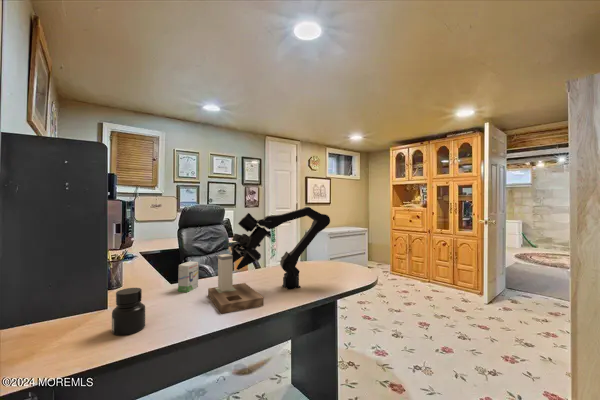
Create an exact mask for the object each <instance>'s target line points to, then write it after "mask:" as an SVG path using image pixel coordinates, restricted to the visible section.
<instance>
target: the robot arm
mask: <svg viewBox="0 0 600 400" xmlns="http://www.w3.org/2000/svg"><path fill="white" fill-rule="evenodd" d="M303 217H308V218H310V220H313V221H312V222H311V226H310V228H309V229H308V230H307V231H306V233H305V234H304V235H303V236H302V238H300V240H299V241H298V243H297V244H296V245H295V246H294V248H293V249H292V250H291V251H290V252H289V251H285V253H284V254H283V255H282V256H281V257H280V259H281V260H280V262H279V265H280V267H281V269H282V270H283V271H284V272H285V273H283V277H282V285H281V286H282V287H283V288H285V289H286V290H293V289H294V290H295V289H300V288H301V285H300V270H299V269H298V268H297V264H298V262H299V259H300V257H301V256H302V254H303V253H304V252H305V250H306V249H307V248H308V246H309V245H310V244H311V243H312V242H313V240H314V239H315V237H316V236H317V235H318V234H319V233H321V231H323V230H325V229H326V228H327V227H329V225H330V223H331V217H330V216H329V215H328V214H325V213H320V212H318V211H316V210H314V209H313V208H311V207H309V206H305V207H303V208H299V209H296V210H295V209H294V210H292V211H290V212H286V213H282V214H274V215H266V216H264V218H262V219H258V220H257V219H256V218H255V217H253V216H252V214H251V213H249V212H247V214H246V215H244V217H242V218H241V219H240V220H239V222H238V223H237V225H239V226H240V227H241V228H242V229H244V231H245V232H251V233H250V234H249V235H248V234H246V233H242V234H239V233H234V234H233V237H232V241H233V242H234V243H231V245H230V250H231V253H230V255H233V264H234V263H235V262H237V261H239V260H240V259H241V258H242V259H241V260H240V262H239V263H238V264H237V267H236V269H237V270H238V271H239V270H240V269H241V270H242V269H243V268H244V267H247V266H248V265H251V264H253V263H256V262H258V261H260V259H261V258H262V254H261V253H260V252H259V251H258V250H257V247H259V248H260V247H261V243H262V241H263V240H264V239H265V237H267V238H271V237H272V234H271V230H273V229H275V228H276V227H279V226H281V225H283V224H285V223H287V222H290V221H294V220H298V219H300V218H303ZM264 227H265V228H264ZM267 229H268V230H267Z"/></svg>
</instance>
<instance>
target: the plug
mask: <svg viewBox="0 0 600 400" xmlns="http://www.w3.org/2000/svg"><path fill="white" fill-rule="evenodd" d="M233 264H234V263H233V255H231V253H225V254H224V253H223V254H218V255H217V285H218V286H217V287H218V289H220V290H221V291H225V290H231V289H233V285H234V284H233V273H234V272H233V268H234V267H233Z"/></svg>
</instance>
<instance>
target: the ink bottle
mask: <svg viewBox="0 0 600 400" xmlns="http://www.w3.org/2000/svg"><path fill="white" fill-rule="evenodd" d="M142 293H143V292H142V288H141V287H128V288H122V289H120V290H117V291H116V292H115V304H116V306H115V308H114V309H113V310H112V312H111V333H112V335H116V336H126V335H127V336H128V335H132V334H135V333H137V332H140V331H141V330H144V328H145V327H146V305H145V304H144V303H142V297H143V296H142Z"/></svg>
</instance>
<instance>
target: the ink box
mask: <svg viewBox="0 0 600 400" xmlns="http://www.w3.org/2000/svg"><path fill="white" fill-rule="evenodd" d="M177 276H178V279H177V281H178V282H177V292H178V293H189V292H191V291H192V290H194V289H196V288H198V287H199V261H186V262H184V263H183V262H182V263H181V264H178V275H177Z"/></svg>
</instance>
